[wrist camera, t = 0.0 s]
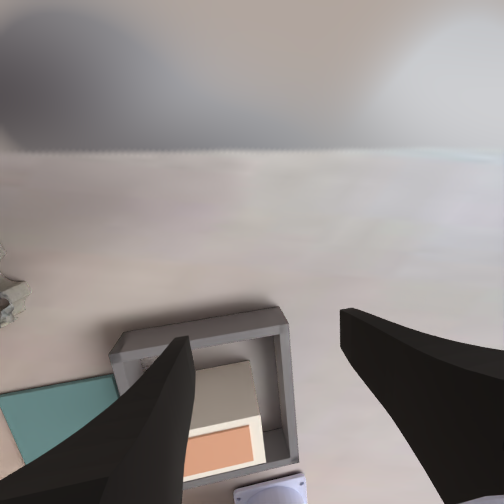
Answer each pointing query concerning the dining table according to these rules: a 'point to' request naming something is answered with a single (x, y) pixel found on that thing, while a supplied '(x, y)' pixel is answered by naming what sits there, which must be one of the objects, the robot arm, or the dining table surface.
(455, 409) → the robot arm
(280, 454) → the bin
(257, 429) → the box
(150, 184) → the dining table surface
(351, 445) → the dining table surface
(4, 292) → the egg carton
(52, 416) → the mat
